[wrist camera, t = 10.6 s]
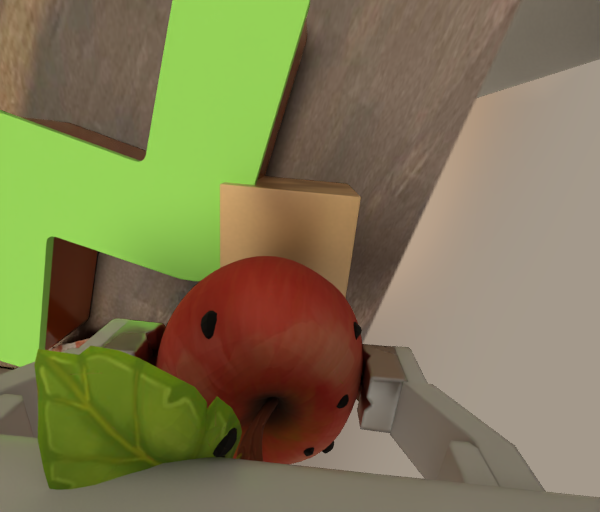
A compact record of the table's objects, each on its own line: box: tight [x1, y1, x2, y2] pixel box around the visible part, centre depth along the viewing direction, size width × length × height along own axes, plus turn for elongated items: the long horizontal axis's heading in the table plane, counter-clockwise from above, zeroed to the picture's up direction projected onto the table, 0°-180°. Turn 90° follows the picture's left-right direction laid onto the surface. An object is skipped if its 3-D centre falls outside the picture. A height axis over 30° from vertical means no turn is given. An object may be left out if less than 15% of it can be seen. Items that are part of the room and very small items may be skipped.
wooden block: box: [220, 176, 361, 298], centre depth 22 cm, size 8×8×7 cm
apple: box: [34, 256, 363, 490], centre depth 9 cm, size 8×7×10 cm
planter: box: [0, 0, 310, 367], centre depth 21 cm, size 30×18×6 cm, turn 160°
